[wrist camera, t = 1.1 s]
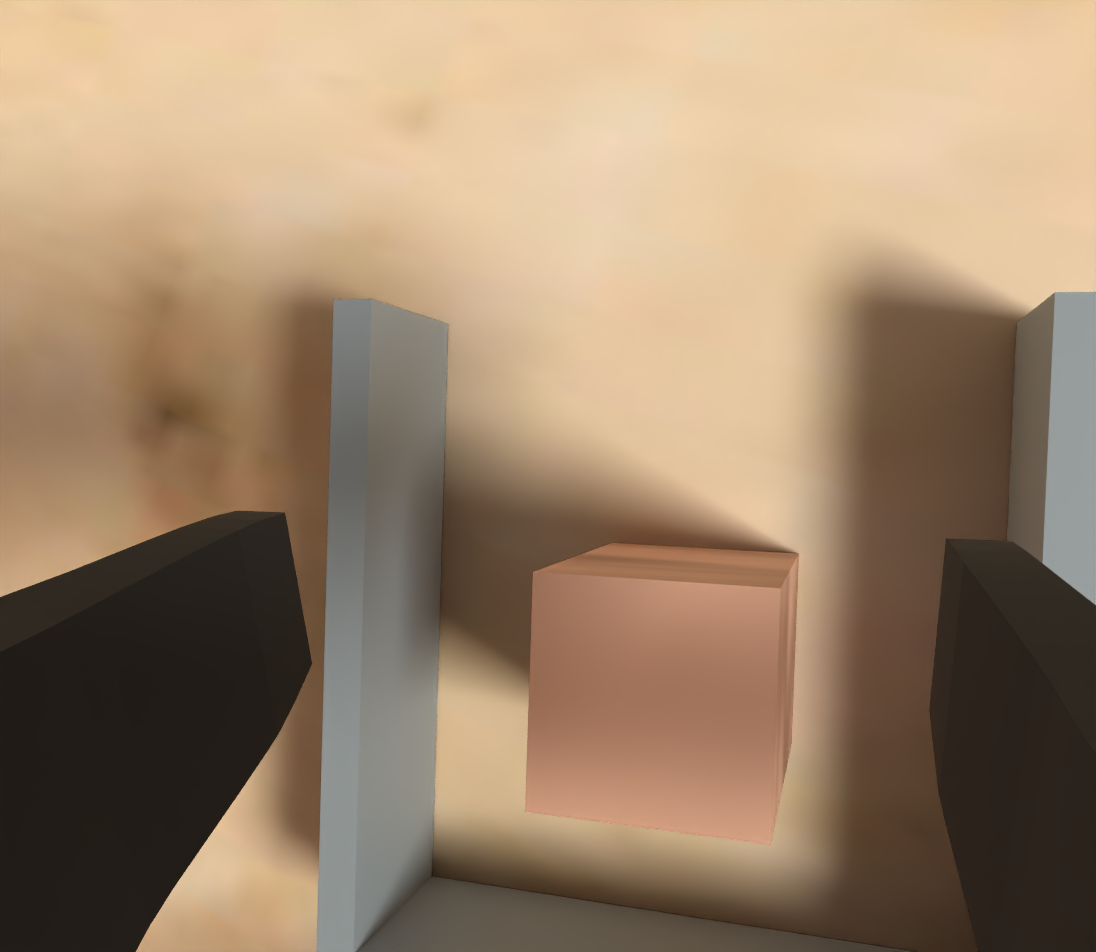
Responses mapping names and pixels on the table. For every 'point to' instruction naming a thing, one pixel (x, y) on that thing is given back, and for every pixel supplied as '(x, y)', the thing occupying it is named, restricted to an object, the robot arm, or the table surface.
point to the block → (663, 688)
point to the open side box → (413, 638)
